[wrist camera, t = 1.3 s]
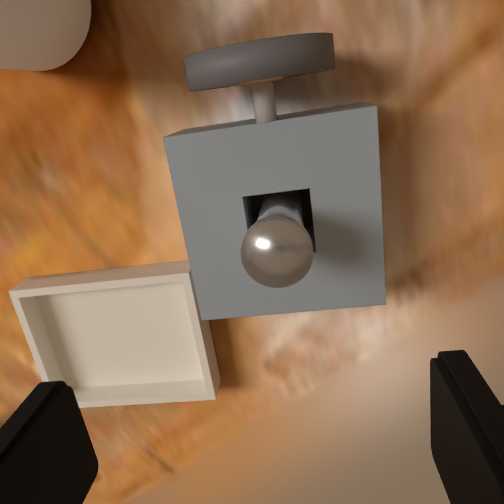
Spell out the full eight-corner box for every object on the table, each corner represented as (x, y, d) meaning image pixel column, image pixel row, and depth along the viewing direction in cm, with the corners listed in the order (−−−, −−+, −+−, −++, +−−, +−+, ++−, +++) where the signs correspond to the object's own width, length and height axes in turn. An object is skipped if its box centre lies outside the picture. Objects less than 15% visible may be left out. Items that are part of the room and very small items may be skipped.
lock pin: (304, 175, 30) (309, 215, 21) (310, 225, 31) (316, 284, 22) (253, 182, 30) (235, 224, 21) (260, 230, 32) (246, 291, 22)
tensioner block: (359, 35, 27) (387, 14, 19) (372, 272, 32) (398, 333, 24) (171, 68, 28) (123, 60, 20) (214, 288, 34) (190, 350, 26)
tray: (196, 259, 33) (188, 272, 31) (220, 379, 37) (215, 399, 34) (27, 277, 35) (8, 291, 32) (67, 389, 39) (52, 409, 36)
